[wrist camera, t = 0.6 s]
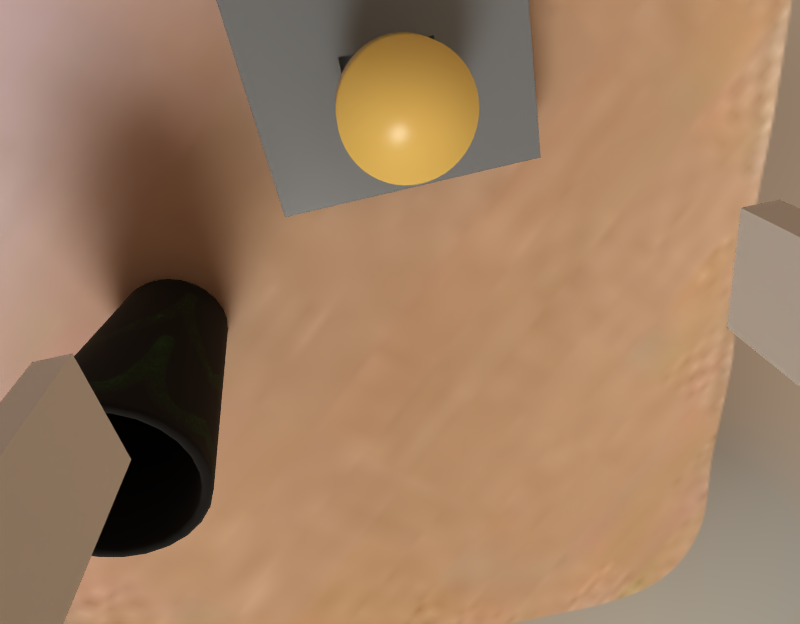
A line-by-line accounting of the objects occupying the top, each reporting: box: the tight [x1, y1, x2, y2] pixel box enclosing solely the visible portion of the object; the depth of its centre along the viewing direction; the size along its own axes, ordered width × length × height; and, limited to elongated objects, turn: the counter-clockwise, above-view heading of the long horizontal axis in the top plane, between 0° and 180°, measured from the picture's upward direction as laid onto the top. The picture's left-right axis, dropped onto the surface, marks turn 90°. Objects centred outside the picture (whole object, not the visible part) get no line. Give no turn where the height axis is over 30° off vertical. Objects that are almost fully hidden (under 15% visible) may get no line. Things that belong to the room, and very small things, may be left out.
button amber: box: [335, 32, 479, 185], centre depth 23 cm, size 5×5×4 cm
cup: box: [74, 279, 228, 557], centre depth 26 cm, size 8×8×12 cm
